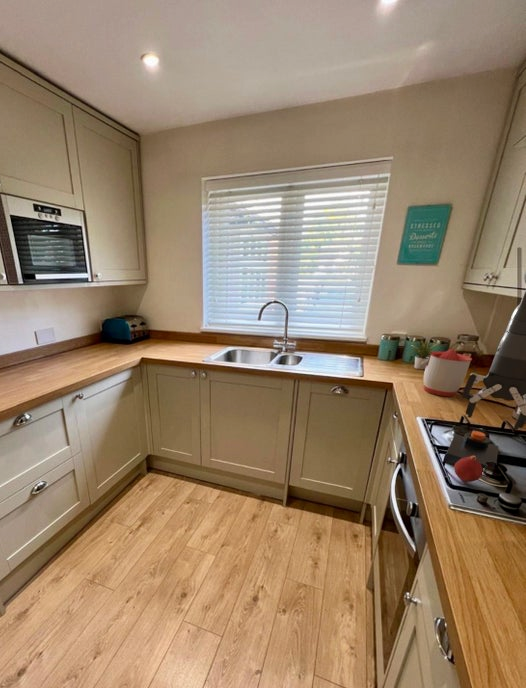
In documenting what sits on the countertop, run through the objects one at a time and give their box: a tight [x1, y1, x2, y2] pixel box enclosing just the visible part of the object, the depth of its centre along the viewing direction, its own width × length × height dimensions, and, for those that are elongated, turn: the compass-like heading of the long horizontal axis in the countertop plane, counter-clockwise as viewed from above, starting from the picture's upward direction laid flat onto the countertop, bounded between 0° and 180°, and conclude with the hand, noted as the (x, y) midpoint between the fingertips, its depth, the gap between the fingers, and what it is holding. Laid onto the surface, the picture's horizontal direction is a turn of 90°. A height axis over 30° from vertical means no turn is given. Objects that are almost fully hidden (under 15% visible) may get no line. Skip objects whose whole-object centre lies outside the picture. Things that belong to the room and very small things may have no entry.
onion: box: [453, 456, 483, 483], centre depth 85 cm, size 6×6×8 cm
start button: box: [470, 430, 486, 441], centre depth 99 cm, size 3×3×2 cm
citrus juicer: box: [422, 348, 473, 398], centre depth 146 cm, size 16×17×20 cm
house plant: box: [410, 339, 440, 370], centre depth 182 cm, size 14×14×16 cm
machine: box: [443, 432, 500, 469], centre depth 96 cm, size 16×11×5 cm, turn 139°
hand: (491, 422), depth 77 cm, fingers open, 8 cm apart
